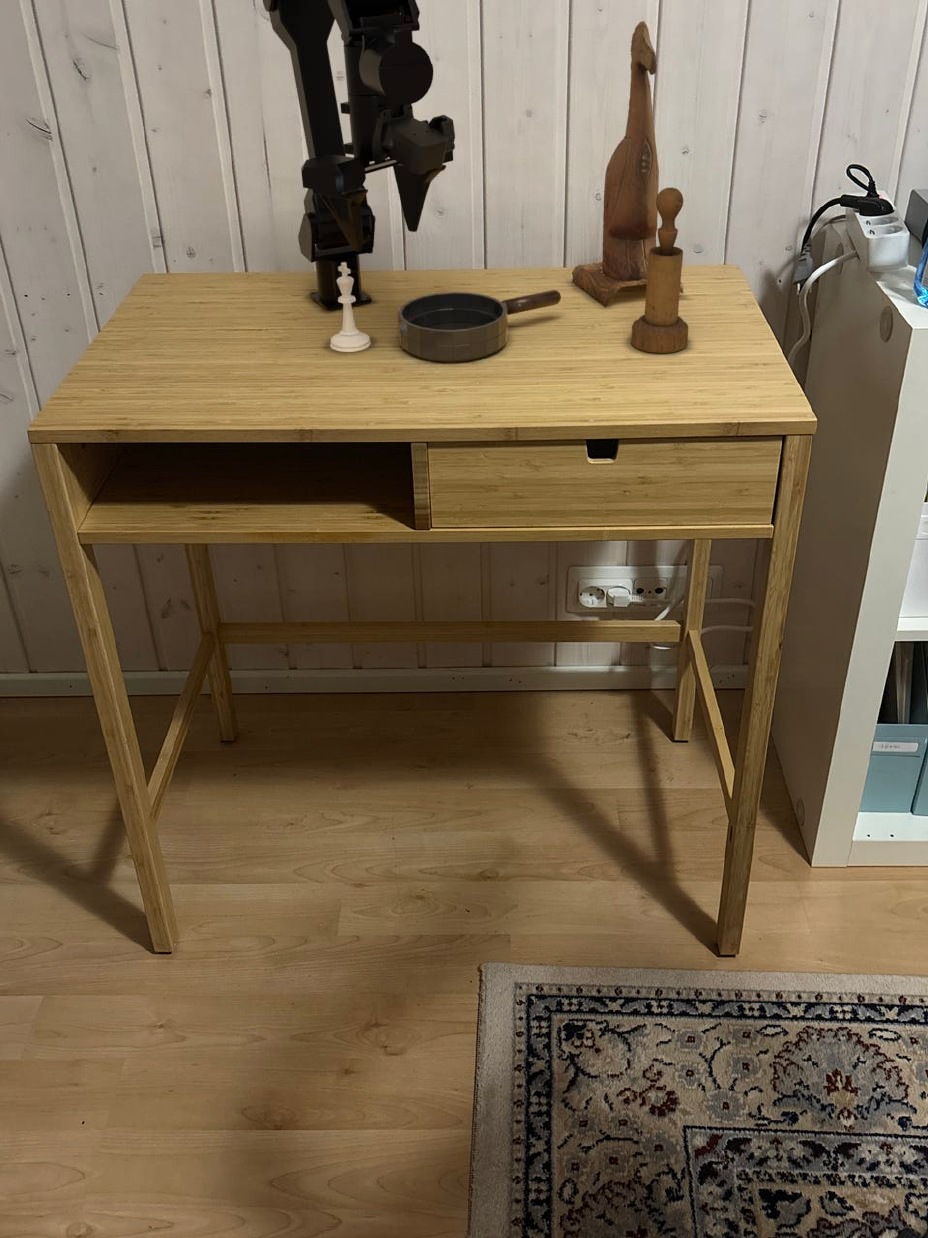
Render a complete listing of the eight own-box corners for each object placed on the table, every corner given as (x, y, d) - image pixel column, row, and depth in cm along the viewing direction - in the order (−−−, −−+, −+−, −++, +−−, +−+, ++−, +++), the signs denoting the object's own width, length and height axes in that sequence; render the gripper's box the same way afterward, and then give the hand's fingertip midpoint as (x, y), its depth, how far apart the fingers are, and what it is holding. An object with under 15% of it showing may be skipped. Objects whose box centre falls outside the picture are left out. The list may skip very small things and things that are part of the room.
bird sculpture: (608, 310, 150) (621, 33, 132) (568, 282, 159) (576, 19, 141) (685, 297, 153) (708, 25, 135) (642, 270, 162) (658, 12, 144)
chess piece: (352, 333, 146) (346, 253, 140) (379, 343, 143) (373, 262, 137) (321, 344, 143) (314, 263, 137) (347, 355, 140) (340, 272, 134)
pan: (382, 335, 145) (380, 304, 143) (475, 316, 150) (474, 285, 147) (429, 372, 135) (427, 339, 133) (526, 349, 140) (527, 317, 138)
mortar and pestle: (685, 333, 143) (699, 180, 133) (688, 354, 138) (703, 197, 127) (630, 333, 144) (639, 180, 133) (631, 353, 138) (641, 196, 128)
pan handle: (500, 319, 143) (500, 304, 142) (493, 314, 144) (492, 300, 143) (563, 305, 146) (563, 291, 145) (556, 300, 147) (556, 286, 146)
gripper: (368, 111, 114) (381, 272, 123) (488, 83, 126) (492, 231, 135) (290, 103, 120) (307, 256, 129) (411, 76, 132) (419, 218, 141)
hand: (385, 240), depth 133 cm, fingers open, 9 cm apart
